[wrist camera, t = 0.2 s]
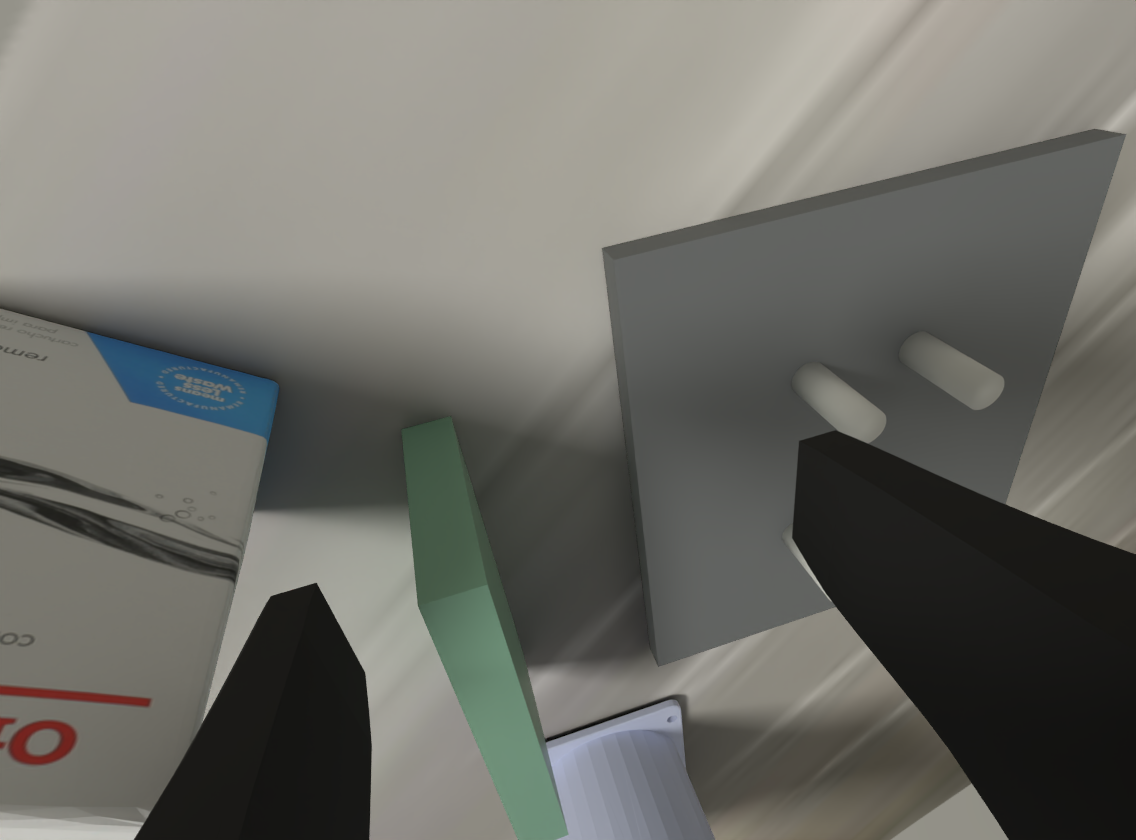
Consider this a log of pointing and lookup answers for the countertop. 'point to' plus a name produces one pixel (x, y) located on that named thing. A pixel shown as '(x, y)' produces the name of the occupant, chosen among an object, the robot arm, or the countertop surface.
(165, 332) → the countertop surface
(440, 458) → the board
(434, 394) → the countertop surface
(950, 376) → the plate
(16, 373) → the ink box
